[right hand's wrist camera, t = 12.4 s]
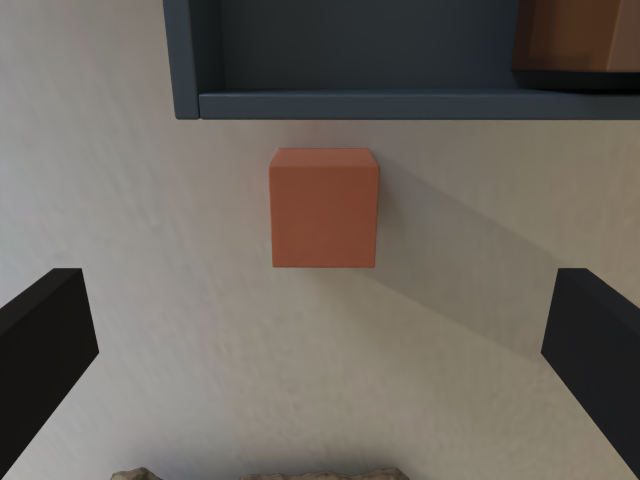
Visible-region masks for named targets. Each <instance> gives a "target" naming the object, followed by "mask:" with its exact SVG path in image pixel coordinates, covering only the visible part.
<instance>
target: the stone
mask: <svg viewBox="0 0 640 480" xmlns="http://www.w3.org/2000/svg"><path fill="white" fill-rule="evenodd" d="M111 480H162V479H160V478H158V477H157V476H155V475H154V474H153V473H152V472H150V471H149V470H147V469H146V468H144V467H141V468H138V469H134V470H132V471H128V472H126V471H120V472H117V473H114V474H113V475H112V477H111ZM240 480H410V479H409V478H408V477H407V476H406V475H405V474H403V473H402V472H401V471H400V470H399V469H398V468H391V469H386V470H380V469H376V470H375V471H373V472H371V473H368V474H362V475H357V476H348V475H345V474H340V475H338V474H335V473H332V472H330V471H328V472H325V471H319V472H317V473H307V474H305V475H302V476H285V475H282V474H274V475H255V474H253V475H249V476H247V477H244V478H241V479H240Z"/></svg>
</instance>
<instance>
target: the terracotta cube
mask: <svg viewBox="0 0 640 480" xmlns="http://www.w3.org/2000/svg"><path fill="white" fill-rule="evenodd" d="M269 186H270V210H271V235H272V260H273V267H375V250H376V229H377V208H378V186H379V166H378V164H377V162H376V161H375V159H374V157H373V156H372V154H371V152H370V150H369V149H279V150H278V152H277V153H276V155H275V157H274V159H273V161H272V162H271V164H270V166H269Z"/></svg>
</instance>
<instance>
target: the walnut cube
mask: <svg viewBox="0 0 640 480" xmlns="http://www.w3.org/2000/svg"><path fill="white" fill-rule="evenodd" d="M511 71H513V72H640V0H520V5H519V13H518V20H517V27H516V34H515V42H514V49H513V56H512V63H511Z"/></svg>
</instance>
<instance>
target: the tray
mask: <svg viewBox="0 0 640 480" xmlns="http://www.w3.org/2000/svg"><path fill="white" fill-rule="evenodd" d="M519 5H520V0H163V8H164V17H165V26H166V36H167V45H168V54H169V63H170V72H171V82H172V91H173V100H174V109H175V117H176V119H179V120H197V119H200V118H201V119H203V120H640V72H513V71H511V63H512V56H513V49H514V42H515V34H516V27H517V20H518V13H519Z"/></svg>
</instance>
